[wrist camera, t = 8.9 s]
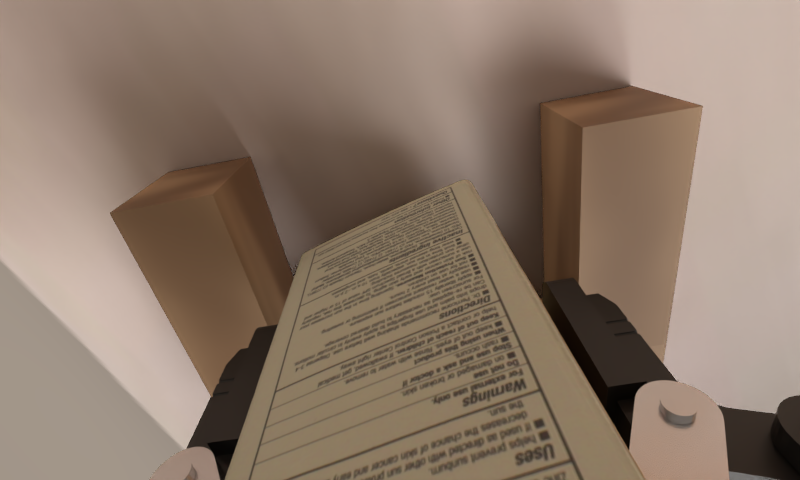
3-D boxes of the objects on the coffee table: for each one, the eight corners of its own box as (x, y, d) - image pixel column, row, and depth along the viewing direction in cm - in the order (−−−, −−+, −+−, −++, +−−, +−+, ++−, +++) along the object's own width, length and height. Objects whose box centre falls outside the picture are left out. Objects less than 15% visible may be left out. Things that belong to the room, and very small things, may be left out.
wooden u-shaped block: (632, 85, 14) (702, 106, 11) (612, 340, 19) (656, 404, 16) (168, 172, 15) (109, 213, 12) (268, 391, 20) (246, 460, 17)
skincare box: (359, 339, 16) (293, 1013, 5) (298, 249, 14) (-6, 1008, 3) (521, 276, 15) (878, 980, 4) (478, 169, 13) (926, 941, 2)
